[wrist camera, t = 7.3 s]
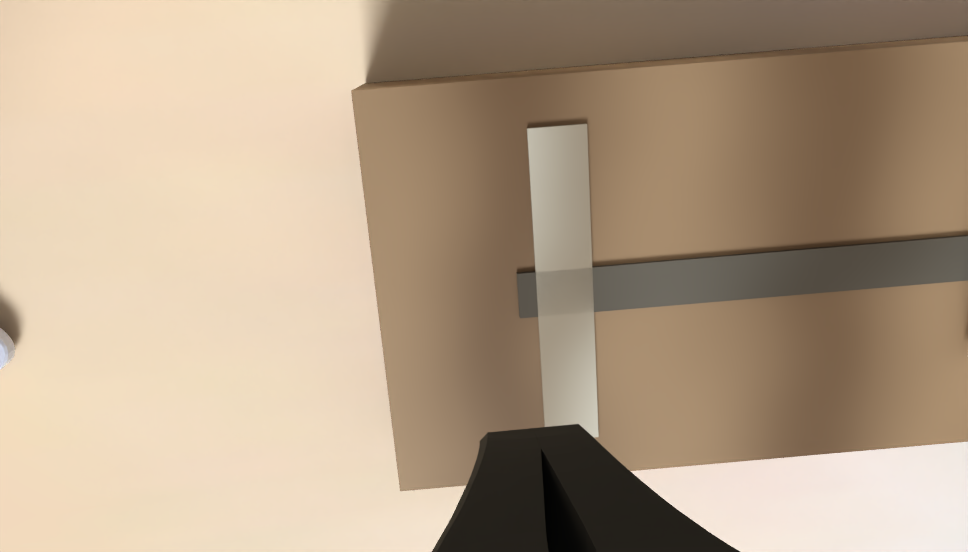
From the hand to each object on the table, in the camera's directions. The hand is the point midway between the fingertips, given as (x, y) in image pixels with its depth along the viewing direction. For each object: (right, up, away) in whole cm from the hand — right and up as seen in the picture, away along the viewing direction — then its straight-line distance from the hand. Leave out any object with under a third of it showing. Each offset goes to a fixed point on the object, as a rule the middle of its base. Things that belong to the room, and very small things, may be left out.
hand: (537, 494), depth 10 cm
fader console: (+6, +4, +9) cm, 11 cm away
